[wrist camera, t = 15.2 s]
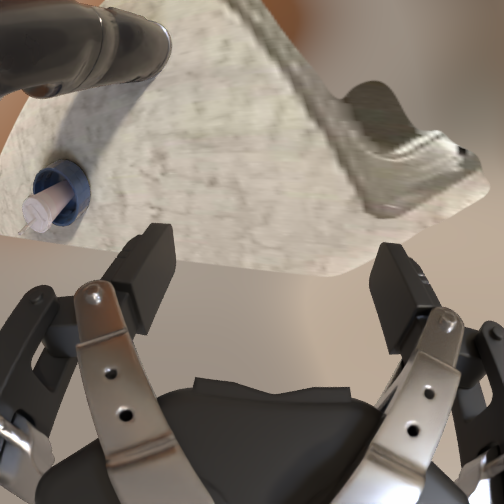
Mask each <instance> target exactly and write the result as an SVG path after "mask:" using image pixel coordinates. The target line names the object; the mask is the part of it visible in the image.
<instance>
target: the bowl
mask: <svg viewBox="0 0 504 504" xmlns="http://www.w3.org/2000/svg"><path fill="white" fill-rule="evenodd" d="M63 180H67V181H68V182H69V184H70V185H71V187H72V189H73V192H74V194H75V195H74V197H73V198H72V199H71V200H70V201H69V202H68V204H67V205H66V206H65V207H64V208H63V209H62V211H61V212H60V213H59V214H58V215H57V217H56V218H55V219H54V220H53V222H52V223H53V224H55V225H57V226H63V227H64V226H68V225H70V224H71V223H73V222H74V221H75V220H76V219H77V218H78V217H79V216H80V215H81V214H82V213H83V212H84V211H86V209H87V207H88V205H89V202H90V195H91V194H90V186H89V183H88V180H87V178H86V176H85V174H84V173H83V171H82V170H81V169H80V168H79V167H78V166H77V165H76V164H75V163H73V162H71V161H69V160H58V161H55V162H53V163H52V164H50V165H48V166H47V167H45V168H43V169H42V170H40V171H39V173H38V174H37V175H36V177H35V180H34V183H33V194H34V195H35V194H37V193H39V192H41V191H43V190H45V189H47V188H49V187H51V186H53V185H55V184H57V183H59V182H61V181H63Z"/></svg>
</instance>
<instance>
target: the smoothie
mask: <svg viewBox="0 0 504 504" xmlns="http://www.w3.org/2000/svg"><path fill="white" fill-rule="evenodd" d="M74 195H75V194H74V192H73V189H72V187H71V185H70V184H69V182H68V181H67V180H63V181H61V182H59V183H57V184H55V185H53V186H51V187H49V188H47V189H45V190H43V191H41V192H39V193H37V194H35V195H30V196H28V197H27V198H26V199H25V200H24V202H23V206H22V210H23V216H24V218H25V220H26V222H27V225H26V226H25V227H24V228H23V229H22V230H21V231H20V232H19V235H21V234H22V233H24V232H25V231H26V230H27V229H28V228H29V227H31V228H32V229H33V230H34V231H36V232H39V233H43V232H45V231H46V230H48V229H49V228H50V227H51V224H52V222H53V220H54V219H55V218H56V217H57V215H58V214H59V213H60V212H61V211H62V209H63V208H64V207H65V206H66V205H67V204H68V202H69V201H70V200H71V199H72V198H73V197H74Z"/></svg>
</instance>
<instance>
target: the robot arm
mask: <svg viewBox="0 0 504 504" xmlns="http://www.w3.org/2000/svg"><path fill="white" fill-rule="evenodd" d="M171 48H172V43H171V38H170V35H169V33H168V31H167V30H166V29H165V28H164V27H163V26H162V25H160V24H159V23H156V22H153V21H150V20H146V19H145V17H143V16H140V15H137V14H134V13H130V12H127V11H124V10H120V9H117V8H113V7H109V8H107V9H106V8H102V7H96V6H92V5H87V4H82V3H78V2H77V1H75V0H0V101H1V99H2V98H3V97H4V96H6V95H8V94H10V93H12V92H15V91H17V90H20V89H22V90H23V92H25V93H26V94H27V95H29V96H30V97H33V98H36V99H48V98H52V97H56V96H60V95H64V94H68V93H72V92H77V91H81V90H85V89H90V88H95V87H100V86H106V85H112V84H120V83H124V82H126V83H130V82H141V81H143V80H147V79H149V78H151V77H153V76H155V75H156V74H157V73H159V72H160V71H161V70H162V69H163V67H164V66H165V65H166V63H167V61H168V59H169V57H170V54H171ZM175 267H176V254H175V246H174V237H173V229H172V226H171V224H163V223H151V224H150V225H149V227H148V228H147V229H146V231H145V232H144V233H143V235H137V236H136V237H134V238H133V239H131V240H130V241H128V242H127V244H126V245H125V246H124V248H123V249H122V251H121V252H120V253H119V254H118V256H117V258H115V260H114V261H113V263H112V264H111V266H110V267H109V268H108V269H107V271H106V272H105V274H104V275H103V277H102V278H101V279H100V280H93V281H90V282H87V283H86V284H84V285H82V286H81V287H80V288H79V289H78V290H77V291H76V293H75V295H74V296H66V297H56V295H55V292H54V290H53V289H52V287H50V286H47V285H40V286H37V287H34V288H32V289H31V290H30V291H28V292H27V293H26V294H25V295H24V296H23V298H22V299H21V300H20V302H19V303H18V305H17V306H16V308H15V309H14V310H13V312H12V314H11V315H10V317H9V318H8V319H7V321H6V322H5V324H4V326H3V327H2V329H1V330H0V485H1V486H3V487H4V488H5V489H7V490H8V491H10V492H11V493H13V494H14V495H16V496H17V497H19V498H20V499H22V500H24V501H25V502H27V503H29V504H504V328H503V327H502V326H501V325H499V324H498V323H496V322H493V321H486V322H484V324H483V325H482V327H481V328H480V329H479V331H478V330H474V329H471V328H466V327H464V323H463V321H462V319H461V318H460V316H459V315H458V314H456V313H455V312H454V311H453V310H451V309H449V308H446V307H442V306H441V304H440V302H439V300H438V298H437V296H436V294H435V292H434V291H433V289H432V287H431V285H430V284H429V282H428V280H427V278H426V277H425V274H424V273H423V271H422V269H421V268H420V266H419V265H418V264H417V263H416V262H415V261H414V260H413V259H412V258H409V257H408V256H407V254H406V252H405V250H404V249H403V247H402V245H401V244H395V243H386V242H383V243H381V245H380V247H379V250H378V253H377V256H376V259H375V262H374V265H373V268H372V271H371V274H370V278H369V288H370V292H371V295H372V298H373V301H374V304H375V307H376V310H377V313H378V317H379V320H380V323H381V327H382V330H383V334H384V337H385V340H386V344H387V347H388V351H389V354H401V356H402V359H401V361H400V362H399V364H398V366H397V368H396V369H395V371H394V373H393V375H392V377H391V379H390V381H389V383H388V384H387V386H386V388H385V390H384V392H383V393H382V395H381V397H380V398H379V400H378V401H377V403H376V404H375V406H372V405H370V404H368V403H366V402H363V401H361V400H358V399H355V398H351V393H350V387H312V388H307V389H302V390H297V391H292V392H287V393H281V394H269V393H266V392H263V391H259V390H256V389H253V388H250V387H247V386H244V385H240V384H238V383H235V382H228V381H220V380H211V379H204V378H197V377H195V381H194V385H193V388H185V389H179V390H176V391H172V392H169V393H166V394H164V395H162V396H160V397H158V398H157V397H156V395H155V392H154V391H153V388H152V386H151V384H150V382H149V379H148V377H147V375H146V372H145V370H144V368H143V365H142V363H141V361H140V358H139V356H138V353H137V351H136V348H135V345H134V343H133V339H134V336H135V334H142V335H147V334H148V331H149V329H150V327H151V324H152V322H153V319H154V317H155V314H156V313H157V310H158V308H159V306H160V303H161V301H162V299H163V297H164V294H165V292H166V290H167V288H168V286H169V283H170V281H171V279H172V277H173V275H174V272H175ZM40 342H42V343H43V345H44V346H45V348H44V349H43V352H42V353H41V355H40V357H39V359H38V361H37V363H36V365H35V367H34V369H33V371H32V368H31V361H32V357H33V355H34V353H35V351H36V350H37V348H38V346H39V344H40ZM77 362H78V364H79V369H80V373H81V377H82V382H83V386H84V390H85V394H86V398H87V402H88V405H89V409H90V412H91V416H92V419H93V422H94V425H95V428H96V432H97V435H98V438H97V439H96V440H94V441H93V442H91V443H90V444H88V445H86V446H85V447H83V448H82V449H80V450H79V451H77V452H75V453H74V454H72V455H71V456H69V457H67V458H66V459H64V460H63V461H61V462H59V463H58V464H56V465H54V466H53V467H52V465H53V463H54V461H55V458H54V455H53V454H52V447H51V444H50V441H49V436H50V432H51V430H52V427H53V424H54V421H55V418H56V415H57V412H58V410H59V407H60V404H61V402H62V399H63V396H64V394H65V392H66V389H67V387H68V384H69V382H70V379H71V377H72V374H73V372H74V369H75V367H76V365H77ZM486 374H487V376H488V379H489V382H490V385H491V388H492V392H493V397H492V401H491V403H490V405H489V406H488V407H486V403H485V400H484V396H483V393H482V390H481V386H480V383H479V381H480V380H481V379H482V378H483V377H484V376H485V375H486ZM451 410H452V415H453V420H454V425H455V430H456V435H457V441H458V447H459V453H460V460H461V467H462V469H461V472H460V474H459V478H458V479H457V480H455V482H453V481H452V480H451V479H450V478H449V477H448V476H447V475H446V474H444V472H443V471H441V469H439V468H438V467H437V466H436V465H435V464H434V463H433V462H432V461H431V460H432V457H433V455H434V453H435V451H436V448H437V446H438V443H439V441H440V438H441V436H442V433H443V431H444V428H445V425H446V423H447V420H448V417H449V414H450V411H451Z"/></svg>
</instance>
